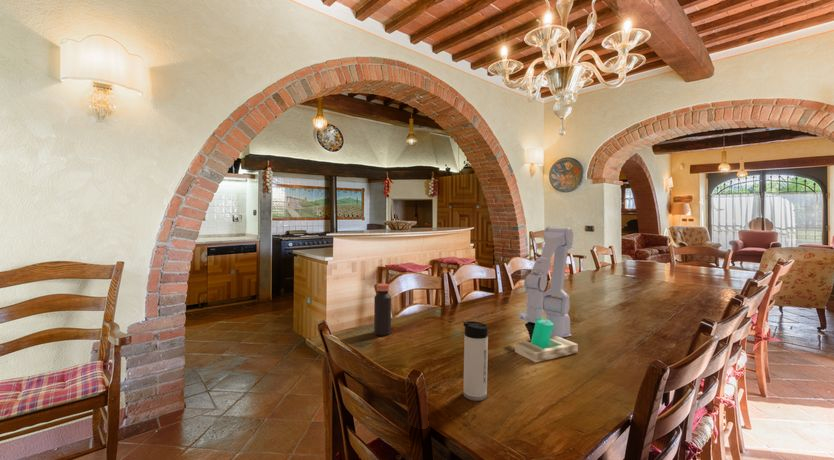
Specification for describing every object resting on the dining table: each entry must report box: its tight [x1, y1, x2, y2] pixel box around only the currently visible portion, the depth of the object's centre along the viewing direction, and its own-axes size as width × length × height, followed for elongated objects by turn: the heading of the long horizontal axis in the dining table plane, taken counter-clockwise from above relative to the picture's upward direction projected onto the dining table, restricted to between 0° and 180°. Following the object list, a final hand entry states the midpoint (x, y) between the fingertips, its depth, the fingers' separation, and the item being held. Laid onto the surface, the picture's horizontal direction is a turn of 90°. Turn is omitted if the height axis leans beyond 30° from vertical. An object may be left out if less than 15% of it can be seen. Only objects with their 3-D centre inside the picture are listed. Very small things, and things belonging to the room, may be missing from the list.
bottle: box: [373, 283, 392, 337], centre depth 146 cm, size 7×7×20 cm
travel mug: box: [462, 320, 489, 402], centre depth 97 cm, size 6×7×20 cm
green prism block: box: [530, 317, 553, 349], centre depth 129 cm, size 6×6×12 cm
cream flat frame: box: [514, 336, 579, 363], centre depth 128 cm, size 20×10×3 cm, turn 116°
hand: (533, 342), depth 133 cm, fingers closed, pressing on green prism block
